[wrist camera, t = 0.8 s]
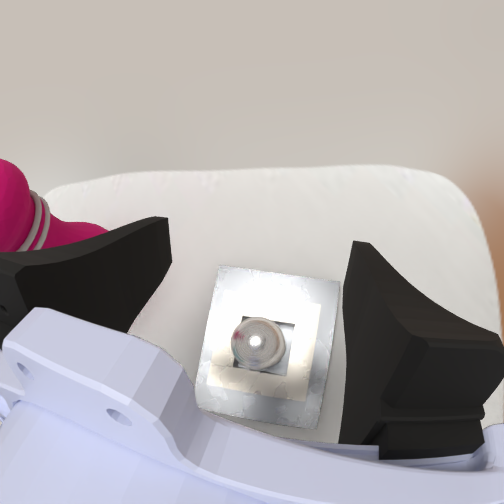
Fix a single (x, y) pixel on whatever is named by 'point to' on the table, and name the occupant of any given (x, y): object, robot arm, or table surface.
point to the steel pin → (258, 343)
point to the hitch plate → (296, 354)
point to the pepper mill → (33, 217)
